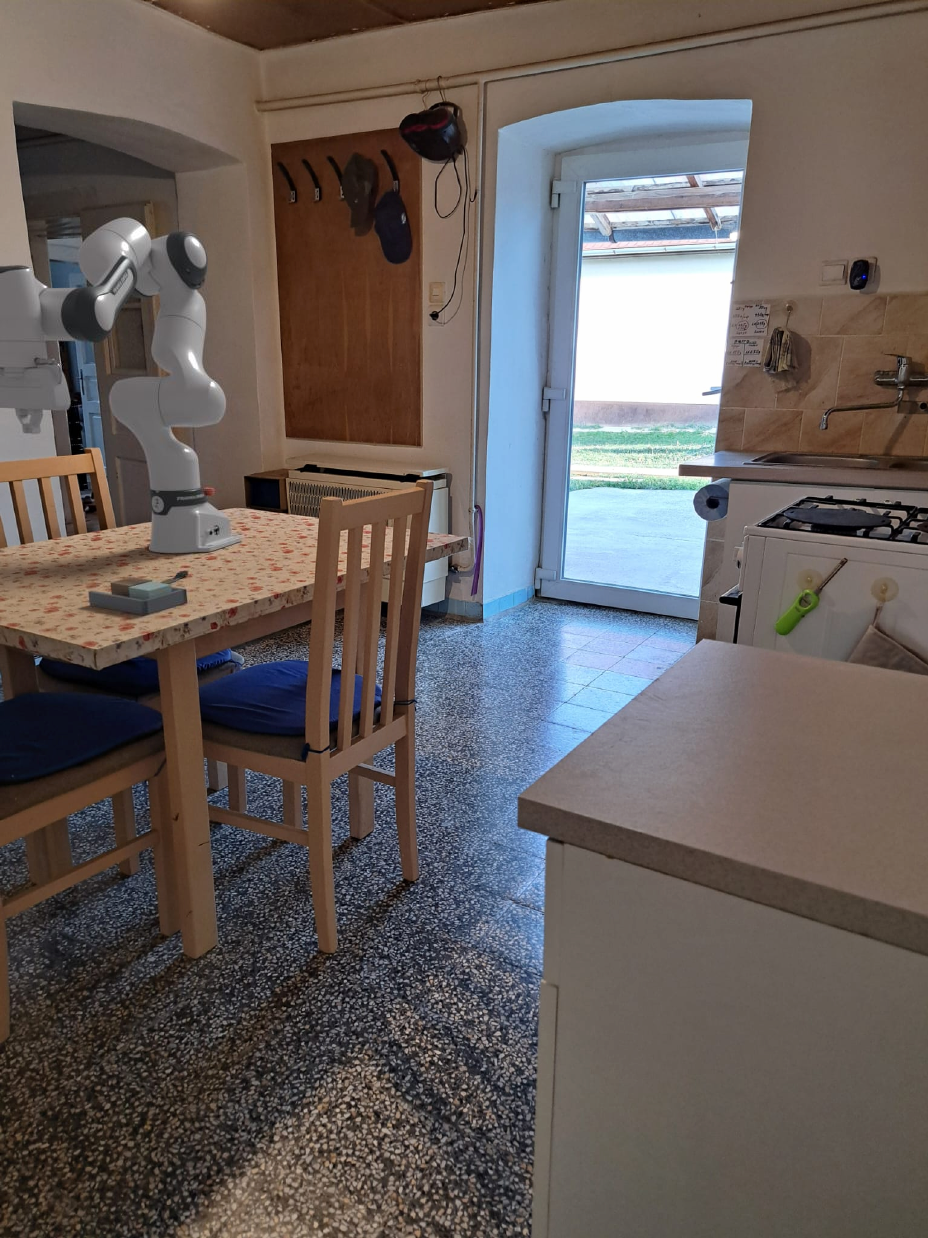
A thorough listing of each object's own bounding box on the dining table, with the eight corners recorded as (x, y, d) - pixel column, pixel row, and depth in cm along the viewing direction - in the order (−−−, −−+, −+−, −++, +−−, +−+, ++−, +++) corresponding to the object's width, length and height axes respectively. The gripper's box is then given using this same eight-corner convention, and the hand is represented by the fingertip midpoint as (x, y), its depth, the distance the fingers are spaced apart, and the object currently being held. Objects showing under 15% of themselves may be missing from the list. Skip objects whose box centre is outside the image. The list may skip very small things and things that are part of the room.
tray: (133, 593, 159) (132, 580, 158) (187, 602, 153) (186, 589, 152) (89, 605, 151) (88, 591, 150) (144, 615, 145) (143, 601, 144)
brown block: (135, 598, 156) (132, 576, 155) (154, 601, 154) (152, 580, 152) (112, 604, 152) (110, 582, 150) (132, 607, 149) (129, 585, 148)
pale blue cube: (153, 602, 153) (151, 581, 152) (173, 606, 151) (171, 584, 150) (130, 609, 149) (128, 587, 148) (151, 613, 147) (148, 590, 146)
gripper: (73, 358, 156) (83, 434, 160) (2, 357, 165) (13, 430, 169) (43, 357, 150) (54, 436, 154) (-29, 357, 159) (-17, 432, 163)
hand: (32, 433), depth 162 cm, fingers closed
